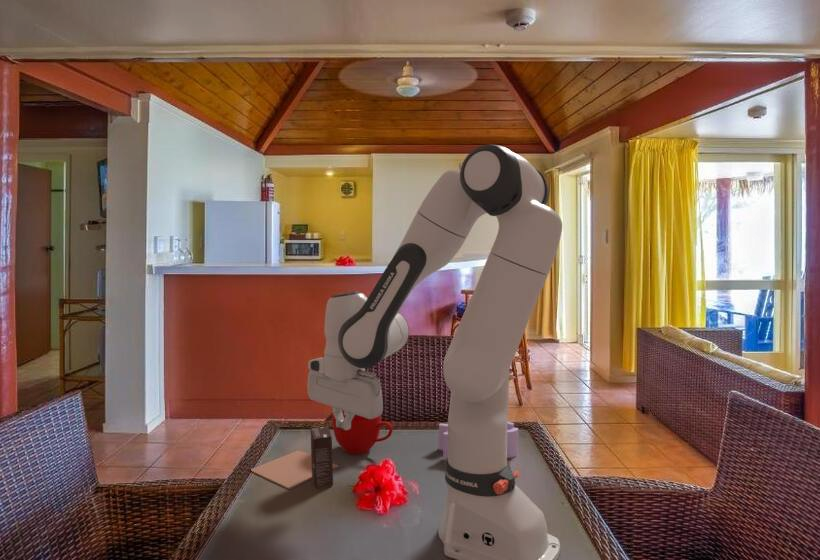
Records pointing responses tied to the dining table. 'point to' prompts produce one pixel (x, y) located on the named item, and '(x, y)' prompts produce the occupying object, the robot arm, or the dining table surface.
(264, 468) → the mat
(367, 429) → the ceramic cup
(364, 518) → the dining table surface
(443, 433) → the clip
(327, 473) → the box
